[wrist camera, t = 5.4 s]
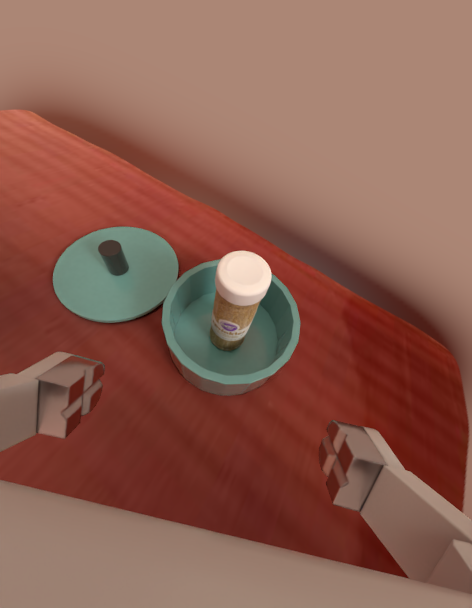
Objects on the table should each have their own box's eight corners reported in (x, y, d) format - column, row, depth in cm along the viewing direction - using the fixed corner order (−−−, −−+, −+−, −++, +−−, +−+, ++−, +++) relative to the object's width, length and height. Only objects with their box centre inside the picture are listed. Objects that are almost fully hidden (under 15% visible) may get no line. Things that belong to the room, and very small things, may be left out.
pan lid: (37, 261, 33) (12, 232, 28) (143, 219, 39) (136, 190, 35) (90, 349, 28) (70, 331, 24) (200, 285, 34) (201, 261, 30)
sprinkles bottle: (208, 350, 30) (215, 291, 18) (210, 317, 32) (217, 245, 20) (245, 352, 30) (275, 296, 19) (245, 319, 32) (271, 251, 21)
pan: (145, 324, 30) (134, 299, 25) (234, 271, 36) (240, 241, 31) (217, 424, 26) (222, 419, 21) (304, 345, 32) (326, 326, 27)
